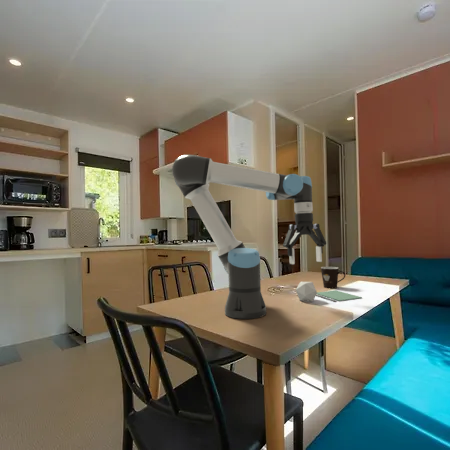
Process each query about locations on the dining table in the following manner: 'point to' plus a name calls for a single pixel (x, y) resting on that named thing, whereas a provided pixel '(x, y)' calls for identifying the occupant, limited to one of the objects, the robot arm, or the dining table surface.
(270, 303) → the dining table surface
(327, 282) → the coffee mug
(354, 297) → the mat
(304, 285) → the die
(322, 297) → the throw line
